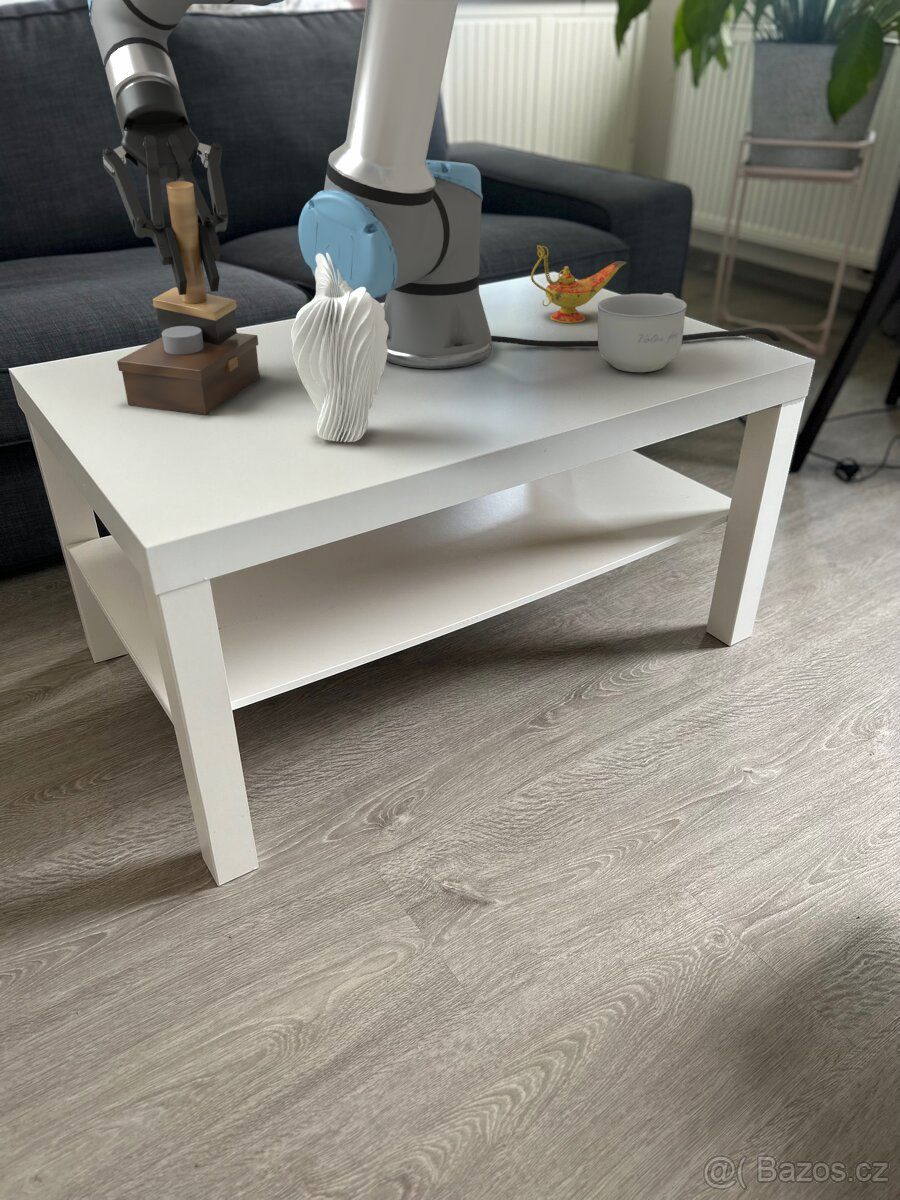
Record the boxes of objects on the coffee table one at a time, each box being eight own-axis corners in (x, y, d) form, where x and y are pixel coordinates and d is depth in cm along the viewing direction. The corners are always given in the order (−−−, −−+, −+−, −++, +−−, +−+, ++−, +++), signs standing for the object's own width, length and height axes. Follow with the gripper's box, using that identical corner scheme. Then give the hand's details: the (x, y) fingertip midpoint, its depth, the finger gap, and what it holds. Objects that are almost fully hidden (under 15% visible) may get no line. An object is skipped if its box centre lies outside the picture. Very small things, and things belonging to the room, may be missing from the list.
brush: (239, 332, 110) (224, 185, 100) (218, 346, 107) (201, 195, 96) (179, 319, 112) (159, 174, 102) (157, 332, 109) (134, 183, 99)
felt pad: (209, 343, 108) (207, 326, 106) (195, 355, 104) (192, 338, 103) (173, 341, 108) (171, 324, 107) (158, 353, 104) (155, 336, 103)
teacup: (641, 386, 112) (649, 319, 108) (574, 363, 119) (580, 299, 114) (710, 361, 120) (720, 299, 115) (643, 342, 126) (651, 281, 122)
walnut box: (263, 377, 113) (259, 335, 111) (208, 416, 103) (202, 370, 100) (186, 368, 116) (180, 326, 113) (125, 405, 105) (116, 360, 102)
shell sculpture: (375, 454, 94) (368, 272, 85) (297, 448, 95) (281, 267, 86) (393, 424, 101) (389, 252, 91) (320, 418, 102) (308, 248, 93)
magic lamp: (636, 312, 138) (645, 234, 133) (543, 331, 130) (549, 249, 124) (605, 301, 143) (612, 226, 137) (513, 320, 135) (517, 240, 129)
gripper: (215, 122, 112) (266, 297, 108) (77, 128, 106) (125, 312, 102) (220, 75, 105) (274, 259, 101) (72, 78, 99) (123, 273, 96)
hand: (199, 285), depth 102 cm, fingers closed on brush, 3 cm apart
